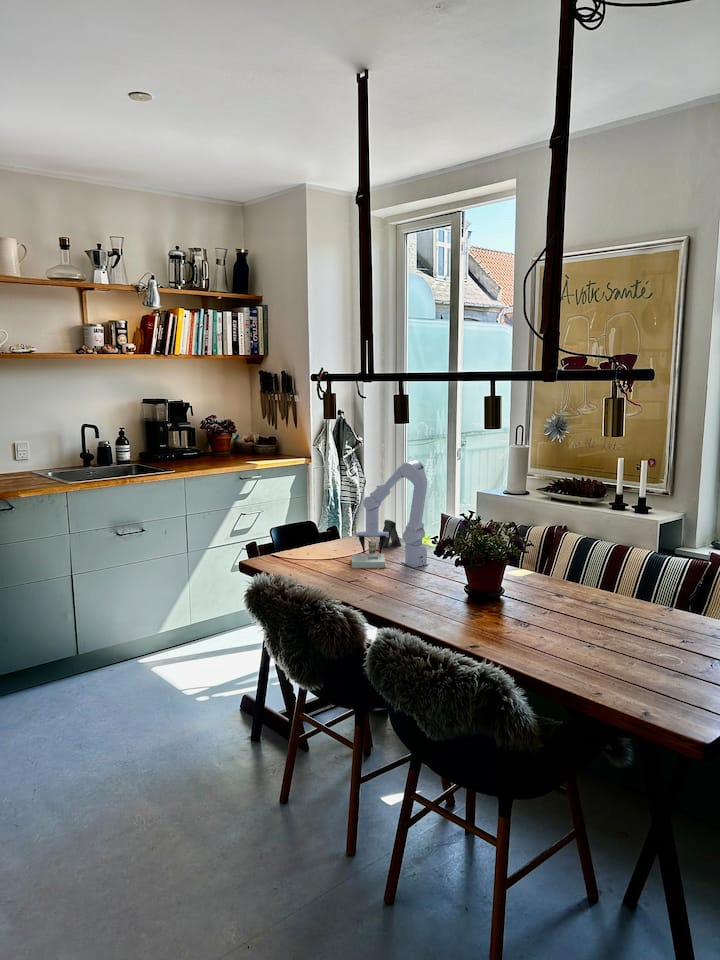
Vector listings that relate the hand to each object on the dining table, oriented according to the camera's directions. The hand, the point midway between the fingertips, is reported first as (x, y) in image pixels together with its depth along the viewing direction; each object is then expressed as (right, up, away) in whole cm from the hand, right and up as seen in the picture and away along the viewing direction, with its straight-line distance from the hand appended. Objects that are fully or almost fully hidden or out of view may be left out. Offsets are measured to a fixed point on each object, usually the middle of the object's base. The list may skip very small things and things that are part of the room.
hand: (372, 552), depth 310 cm
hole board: (-2, -4, -10) cm, 11 cm away
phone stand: (+9, +1, +20) cm, 21 cm away
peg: (0, -2, 0) cm, 2 cm away
